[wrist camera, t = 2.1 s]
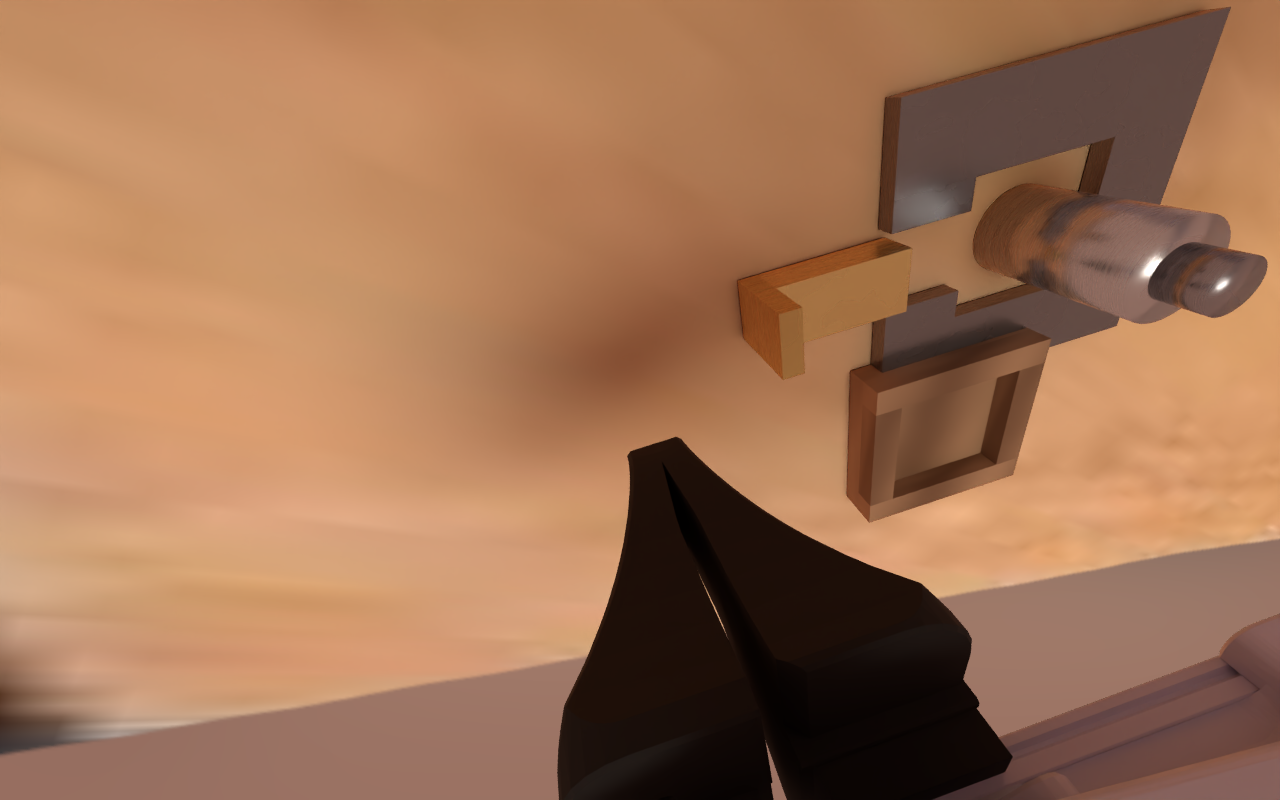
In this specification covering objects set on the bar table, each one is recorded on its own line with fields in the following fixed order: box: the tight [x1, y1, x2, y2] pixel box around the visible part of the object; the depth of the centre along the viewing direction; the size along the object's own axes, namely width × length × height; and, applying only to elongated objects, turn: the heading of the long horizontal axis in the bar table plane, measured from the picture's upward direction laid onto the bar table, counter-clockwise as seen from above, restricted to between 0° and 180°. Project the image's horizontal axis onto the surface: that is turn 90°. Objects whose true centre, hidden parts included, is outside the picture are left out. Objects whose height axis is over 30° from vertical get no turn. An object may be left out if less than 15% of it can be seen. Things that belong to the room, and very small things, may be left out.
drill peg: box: [973, 184, 1268, 324], centre depth 17 cm, size 3×3×8 cm
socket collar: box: [871, 7, 1231, 373], centre depth 20 cm, size 12×12×1 cm
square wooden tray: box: [847, 328, 1051, 523], centre depth 24 cm, size 8×8×2 cm
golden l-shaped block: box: [738, 238, 912, 380], centre depth 18 cm, size 6×2×4 cm, turn 102°
